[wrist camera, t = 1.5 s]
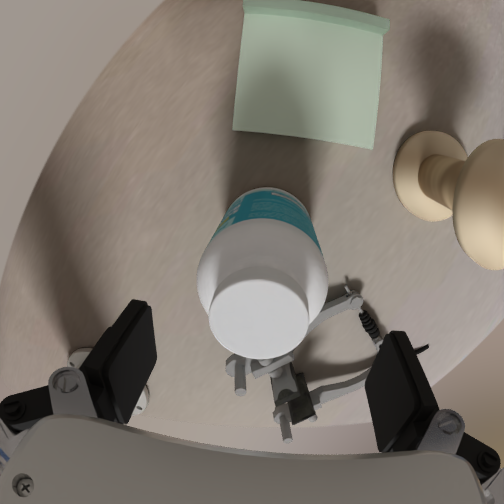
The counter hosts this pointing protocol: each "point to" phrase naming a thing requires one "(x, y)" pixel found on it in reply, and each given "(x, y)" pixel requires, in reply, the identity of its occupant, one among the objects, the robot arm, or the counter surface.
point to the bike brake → (295, 386)
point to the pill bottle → (263, 275)
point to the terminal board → (309, 71)
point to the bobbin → (456, 190)
